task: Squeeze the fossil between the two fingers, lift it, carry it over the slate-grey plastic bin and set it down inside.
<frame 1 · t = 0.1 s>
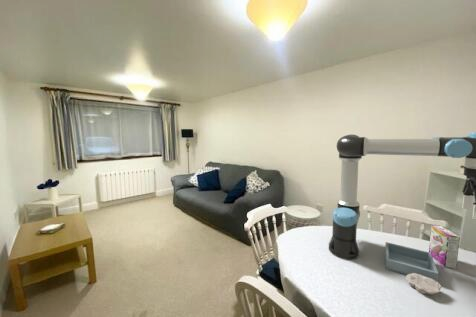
hand: (471, 213, 89), 28 cm above the table, fingers open, 13 cm apart
fossil: (423, 289, 83), on the table
bin: (408, 265, 98), on the table
candy bar box: (441, 261, 100), on the table
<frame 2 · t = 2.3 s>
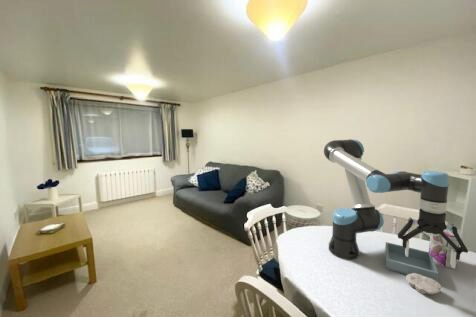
hand: (428, 260, 81), 14 cm above the table, fingers open, 13 cm apart
nothing on the table moved.
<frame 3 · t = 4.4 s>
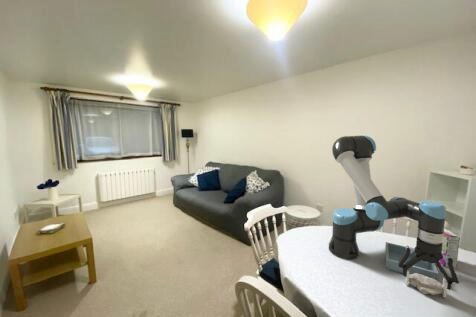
hand: (424, 289, 83), 0 cm above the table, fingers closed on fossil, 11 cm apart
fossil: (425, 290, 83), on the table, touching gripper
everything else where it was.
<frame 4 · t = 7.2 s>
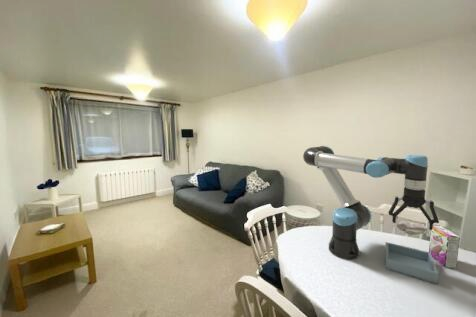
hand: (410, 232, 96), 17 cm above the table, fingers closed on fossil, 11 cm apart
fossil: (411, 233, 96), point 17 cm above the table, touching gripper
everything else where it was.
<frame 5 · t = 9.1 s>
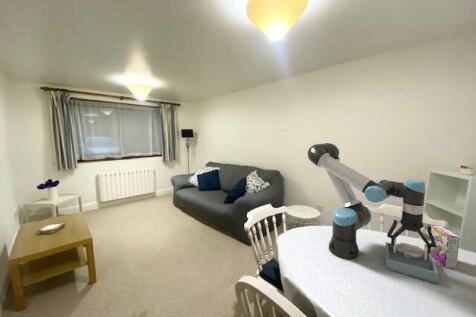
hand: (409, 254, 97), 6 cm above the table, fingers closed on fossil, 11 cm apart
fossil: (410, 255, 97), point 5 cm above the table, touching gripper
everything else where it was.
when the fingers open (4 cm above the table, at t = 10.5 s): fossil drops 3 cm, resting on bin.
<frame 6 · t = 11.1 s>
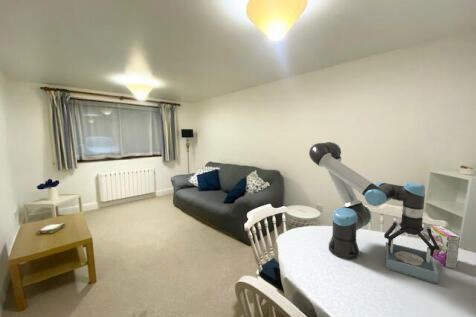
hand: (408, 256, 97), 5 cm above the table, fingers open, 13 cm apart
fossil: (409, 264, 98), resting on bin
everything else where it was.
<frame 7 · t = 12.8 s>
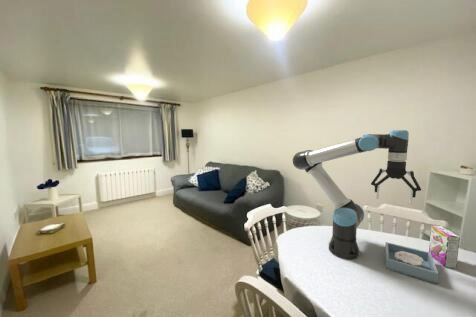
hand: (393, 200, 103), 30 cm above the table, fingers open, 13 cm apart
nothing on the table moved.
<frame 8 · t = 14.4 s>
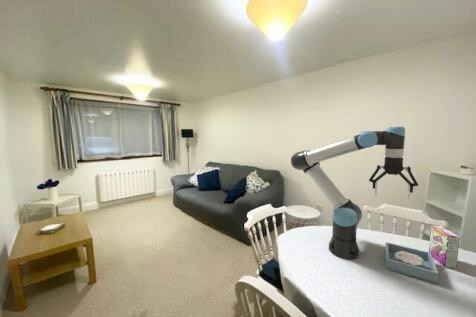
hand: (391, 196, 105), 32 cm above the table, fingers open, 13 cm apart
nothing on the table moved.
at the end: fossil inside the target area on the bin (0.7 cm from its centre), point 0.4 cm above the bin's base; the gripper is holding nothing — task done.
